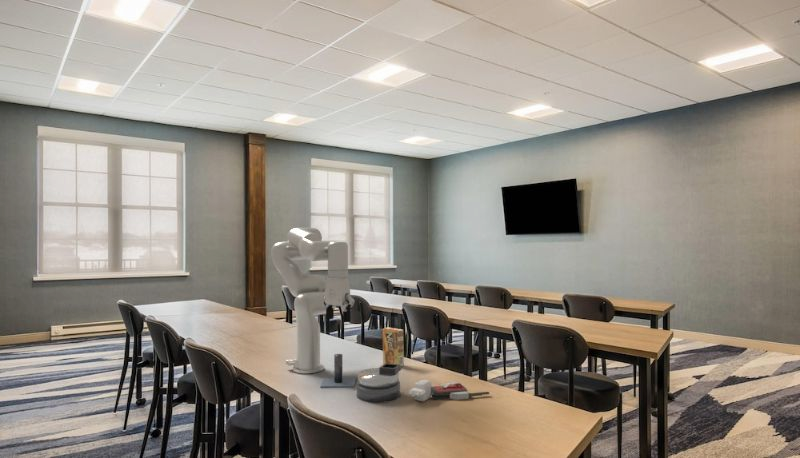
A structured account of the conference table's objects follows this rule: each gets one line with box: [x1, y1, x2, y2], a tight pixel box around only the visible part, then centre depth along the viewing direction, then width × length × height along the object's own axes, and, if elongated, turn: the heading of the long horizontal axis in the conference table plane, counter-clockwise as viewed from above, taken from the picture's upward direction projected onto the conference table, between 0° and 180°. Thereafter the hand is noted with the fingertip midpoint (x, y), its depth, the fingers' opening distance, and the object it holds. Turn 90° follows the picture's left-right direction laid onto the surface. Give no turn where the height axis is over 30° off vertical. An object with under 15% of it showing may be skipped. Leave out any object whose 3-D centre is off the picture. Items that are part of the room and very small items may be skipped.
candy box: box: [382, 326, 405, 367], centre depth 199 cm, size 9×4×15 cm, turn 49°
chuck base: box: [356, 381, 401, 404], centre depth 161 cm, size 15×15×4 cm
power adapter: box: [406, 379, 432, 402], centre depth 154 cm, size 11×5×6 cm, turn 149°
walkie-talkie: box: [431, 381, 490, 401], centre depth 160 cm, size 9×4×20 cm
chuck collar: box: [357, 363, 402, 389], centre depth 161 cm, size 14×14×5 cm
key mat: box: [320, 376, 356, 389], centre depth 174 cm, size 12×10×1 cm
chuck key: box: [333, 353, 343, 383], centre depth 174 cm, size 3×3×10 cm
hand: (338, 320), depth 174 cm, fingers open, 9 cm apart
